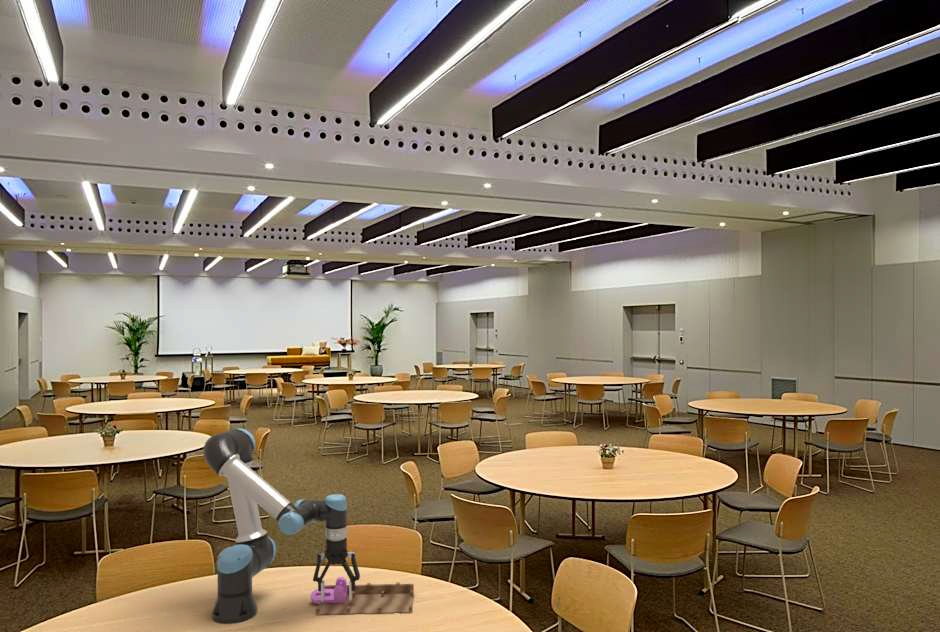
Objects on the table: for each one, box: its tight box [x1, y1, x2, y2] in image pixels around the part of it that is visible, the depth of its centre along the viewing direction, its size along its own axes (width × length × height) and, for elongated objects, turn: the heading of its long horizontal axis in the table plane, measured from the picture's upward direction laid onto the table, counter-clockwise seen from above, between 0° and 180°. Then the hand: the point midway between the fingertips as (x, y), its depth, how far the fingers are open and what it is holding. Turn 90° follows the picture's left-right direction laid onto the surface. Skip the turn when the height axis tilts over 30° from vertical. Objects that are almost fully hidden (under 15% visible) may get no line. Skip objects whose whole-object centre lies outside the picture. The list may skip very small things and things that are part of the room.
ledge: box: [315, 581, 415, 617], centre depth 242 cm, size 34×17×5 cm, turn 92°
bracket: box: [310, 576, 348, 604], centre depth 243 cm, size 13×6×7 cm, turn 90°
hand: (336, 599), depth 240 cm, fingers open, 9 cm apart
